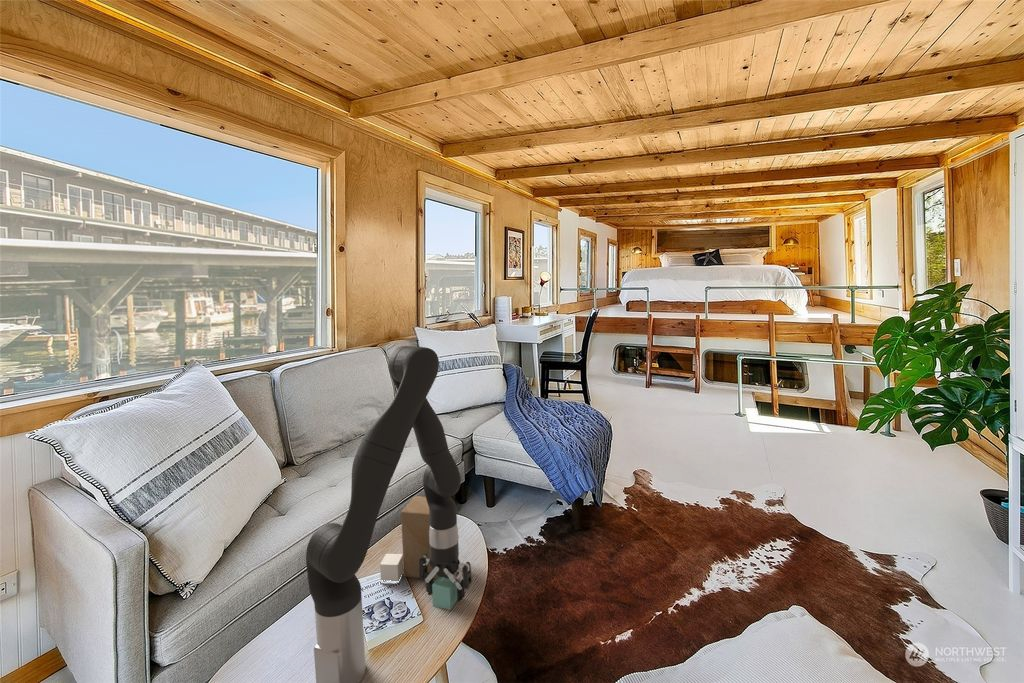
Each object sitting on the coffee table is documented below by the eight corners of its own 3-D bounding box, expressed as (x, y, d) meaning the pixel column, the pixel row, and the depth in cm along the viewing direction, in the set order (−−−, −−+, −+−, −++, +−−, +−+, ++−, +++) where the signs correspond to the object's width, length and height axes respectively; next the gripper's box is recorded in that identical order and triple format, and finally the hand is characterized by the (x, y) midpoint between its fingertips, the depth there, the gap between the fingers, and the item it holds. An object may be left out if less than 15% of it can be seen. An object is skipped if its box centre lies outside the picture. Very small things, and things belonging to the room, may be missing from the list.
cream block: (398, 584, 124) (397, 564, 123) (381, 584, 124) (380, 564, 123) (403, 573, 129) (402, 554, 128) (386, 572, 129) (386, 553, 128)
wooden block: (435, 581, 125) (433, 514, 123) (403, 576, 127) (400, 511, 125) (447, 559, 135) (445, 498, 132) (417, 556, 137) (414, 495, 134)
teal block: (450, 610, 114) (449, 588, 113) (432, 606, 115) (432, 584, 115) (458, 597, 118) (457, 576, 118) (441, 593, 120) (441, 573, 119)
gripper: (412, 542, 113) (414, 600, 115) (462, 552, 109) (464, 612, 111) (426, 527, 121) (428, 582, 122) (474, 536, 116) (476, 592, 118)
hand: (445, 596), depth 117 cm, fingers open, 8 cm apart
